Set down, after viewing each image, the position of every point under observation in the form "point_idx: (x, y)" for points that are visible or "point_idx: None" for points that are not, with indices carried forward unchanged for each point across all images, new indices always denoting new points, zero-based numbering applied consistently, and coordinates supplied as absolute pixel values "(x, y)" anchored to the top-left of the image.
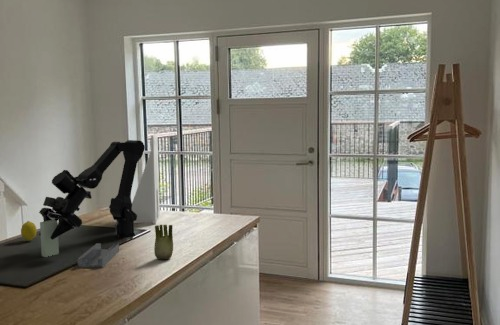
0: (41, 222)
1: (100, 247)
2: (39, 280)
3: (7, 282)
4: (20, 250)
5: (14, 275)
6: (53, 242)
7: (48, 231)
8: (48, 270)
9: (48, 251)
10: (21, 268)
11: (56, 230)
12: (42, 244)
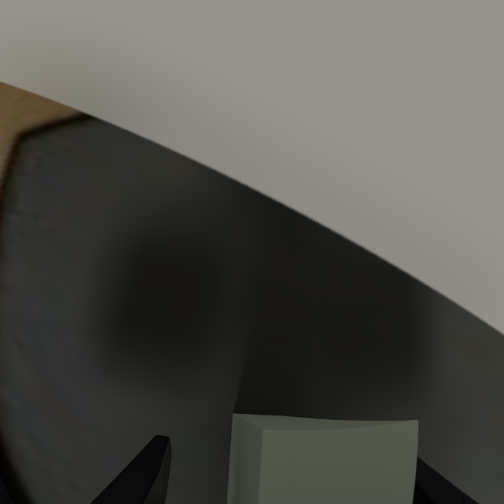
0: (383, 436)
1: None
2: (9, 179)
3: (95, 124)
4: (472, 388)
5: (124, 160)
6: (232, 493)
7: (241, 478)
8: (34, 258)
9: (232, 437)
10: (172, 217)
11: (97, 499)
12: (280, 417)
